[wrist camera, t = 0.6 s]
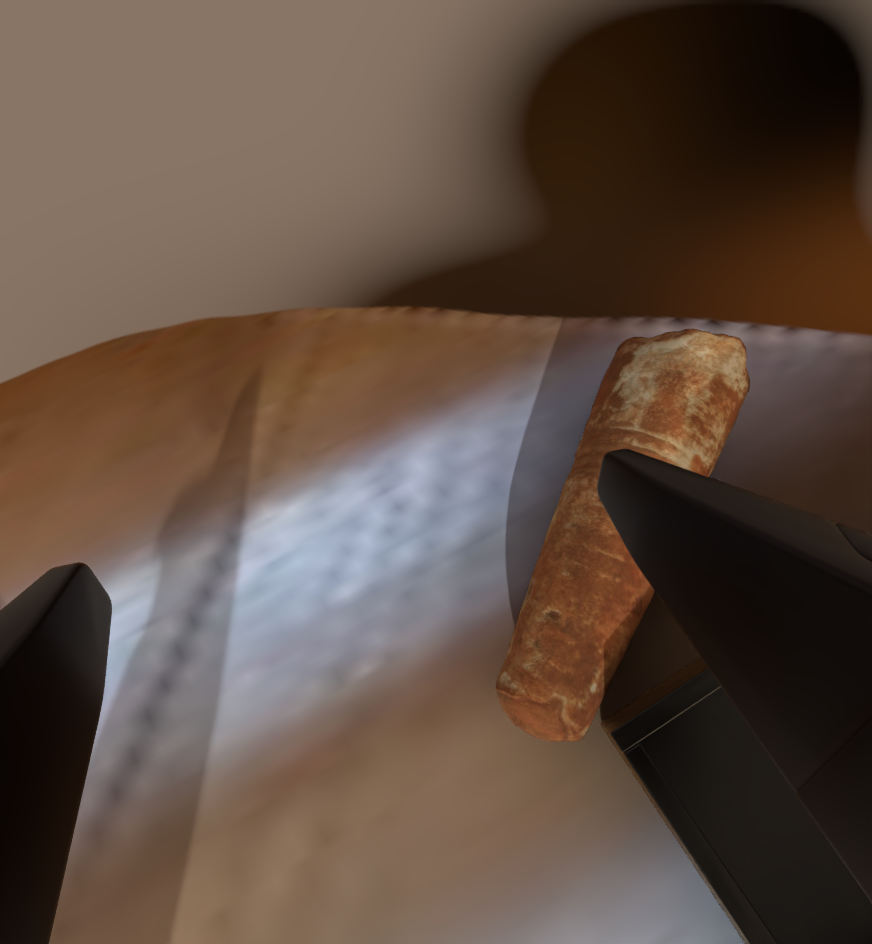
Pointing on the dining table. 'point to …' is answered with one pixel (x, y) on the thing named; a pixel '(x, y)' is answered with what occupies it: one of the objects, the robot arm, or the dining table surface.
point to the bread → (594, 535)
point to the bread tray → (738, 815)
